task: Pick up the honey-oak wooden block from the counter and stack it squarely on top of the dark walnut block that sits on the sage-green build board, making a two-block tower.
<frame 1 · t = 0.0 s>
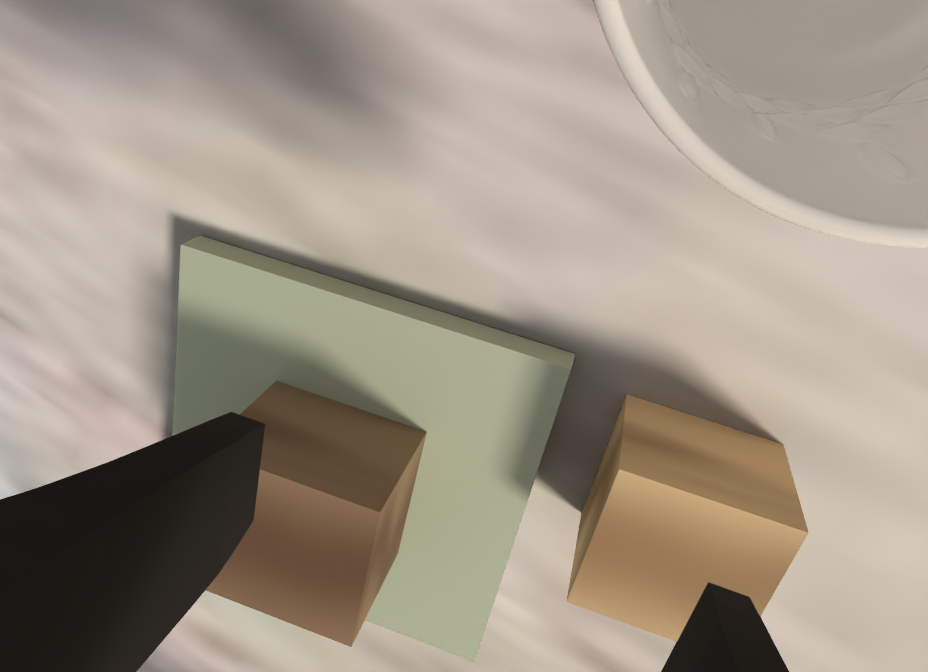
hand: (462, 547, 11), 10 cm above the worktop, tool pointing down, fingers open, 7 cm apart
oak block: (676, 478, 21), on the worktop
walnut block: (339, 470, 23), point 1 cm above the worktop, touching build board
build board: (351, 453, 24), on the worktop
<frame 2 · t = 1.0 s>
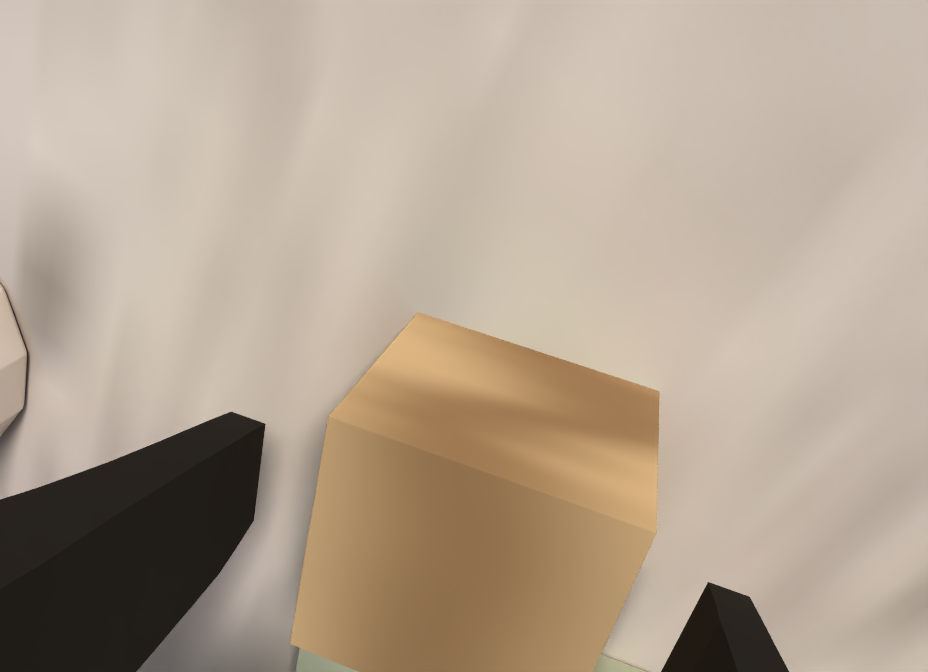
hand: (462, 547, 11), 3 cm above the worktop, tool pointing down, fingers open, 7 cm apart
oak block: (505, 448, 14), on the worktop
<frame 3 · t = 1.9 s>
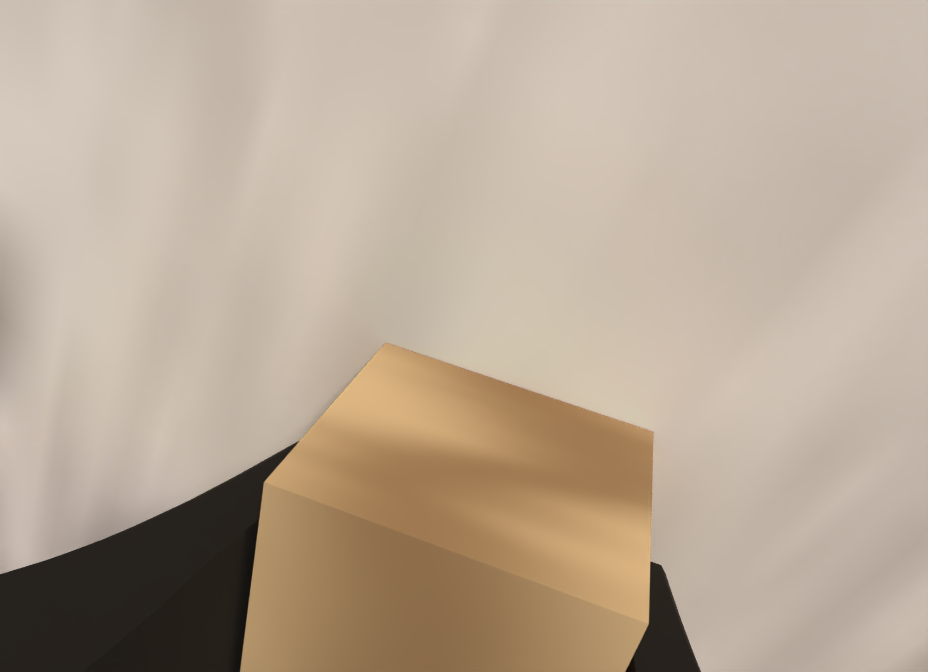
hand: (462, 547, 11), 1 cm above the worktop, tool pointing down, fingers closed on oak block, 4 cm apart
oak block: (482, 494, 12), on the worktop, touching gripper
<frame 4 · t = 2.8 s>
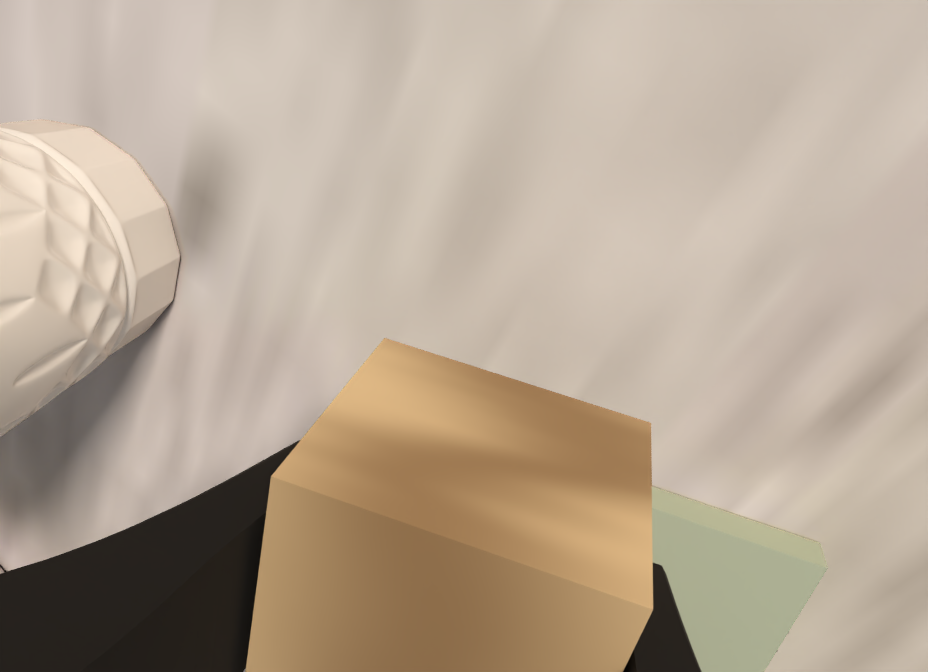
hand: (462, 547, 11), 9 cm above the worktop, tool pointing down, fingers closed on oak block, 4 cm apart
white cup: (88, 232, 22), on the worktop
oak block: (482, 487, 12), point 7 cm above the worktop, touching gripper
build board: (549, 617, 23), on the worktop
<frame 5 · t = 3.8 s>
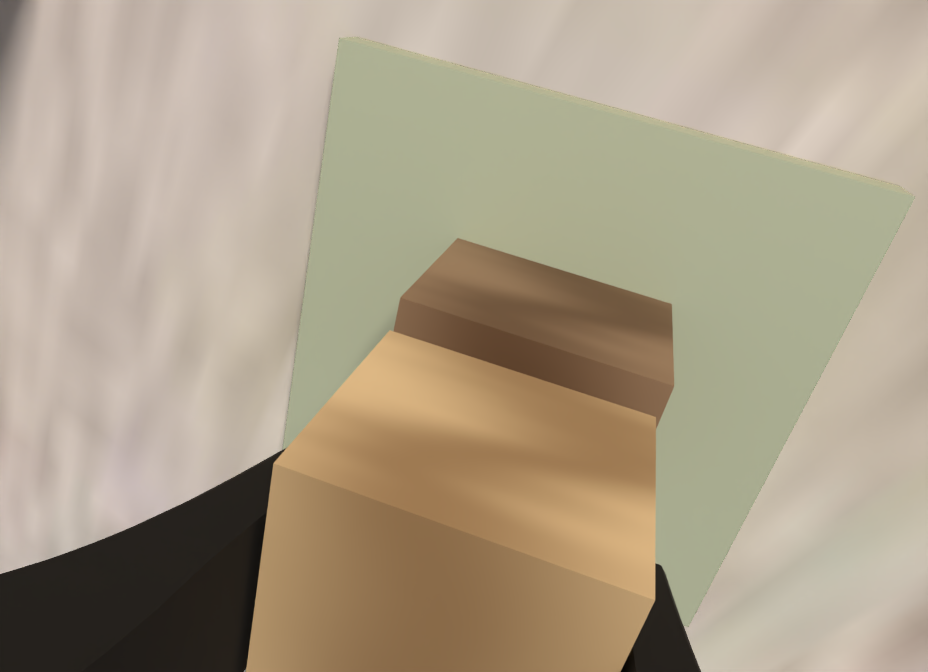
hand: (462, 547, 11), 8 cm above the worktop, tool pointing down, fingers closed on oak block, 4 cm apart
oak block: (486, 481, 12), point 6 cm above the worktop, touching gripper
walnut block: (532, 365, 17), point 1 cm above the worktop, touching build board
build board: (539, 348, 18), on the worktop
when the fingers open (8 cm above the worktop, at t = 4.2 s): oak block drops 1 cm, resting on walnut block.
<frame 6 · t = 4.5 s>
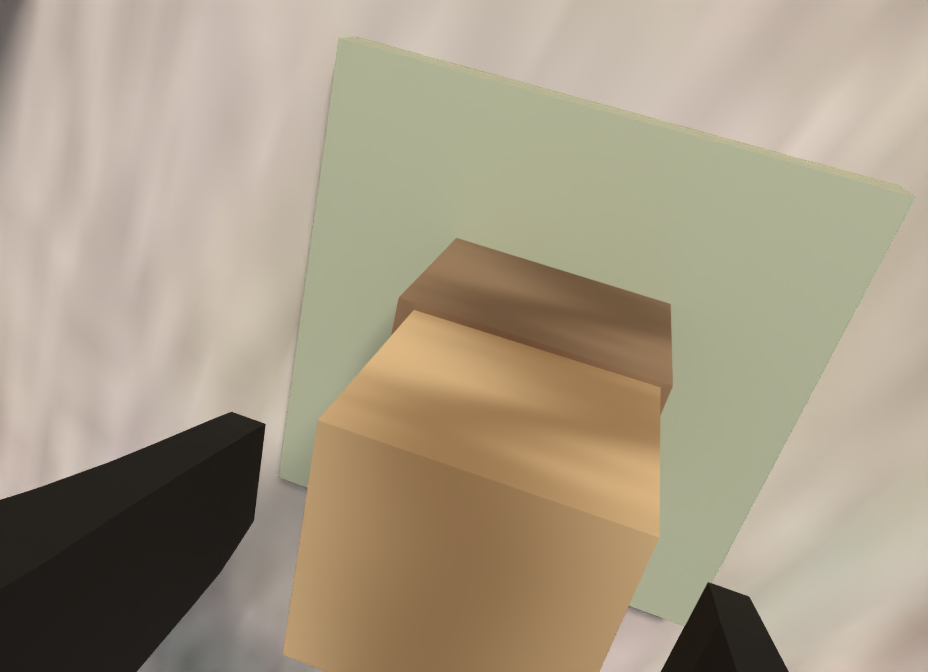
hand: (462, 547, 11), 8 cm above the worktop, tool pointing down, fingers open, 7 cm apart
oak block: (503, 450, 13), point 5 cm above the worktop, touching walnut block
walnut block: (531, 365, 17), point 1 cm above the worktop, touching build board, oak block
build board: (539, 348, 18), on the worktop
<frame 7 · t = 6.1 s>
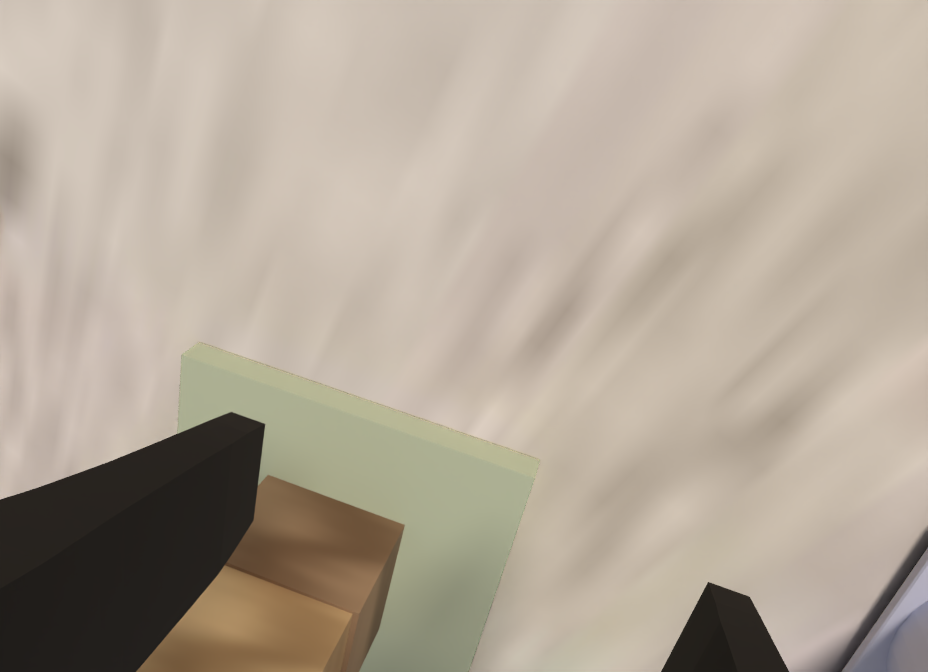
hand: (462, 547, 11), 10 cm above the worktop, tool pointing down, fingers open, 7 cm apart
oak block: (272, 639, 21), point 5 cm above the worktop, touching walnut block
walnut block: (325, 554, 25), point 1 cm above the worktop, touching build board, oak block
build board: (337, 536, 26), on the worktop
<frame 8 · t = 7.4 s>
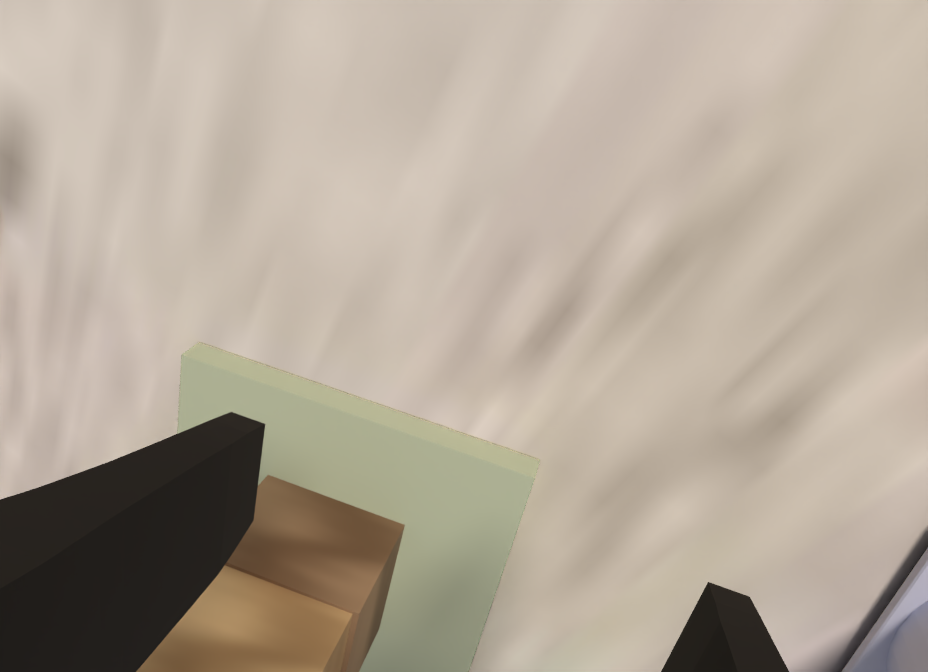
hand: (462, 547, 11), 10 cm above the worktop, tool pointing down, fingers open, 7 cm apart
oak block: (272, 639, 21), point 5 cm above the worktop, touching walnut block
walnut block: (325, 554, 25), point 1 cm above the worktop, touching build board, oak block
build board: (337, 536, 26), on the worktop
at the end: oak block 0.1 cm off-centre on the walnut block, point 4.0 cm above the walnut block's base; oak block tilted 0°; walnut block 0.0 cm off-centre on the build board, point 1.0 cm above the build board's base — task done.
